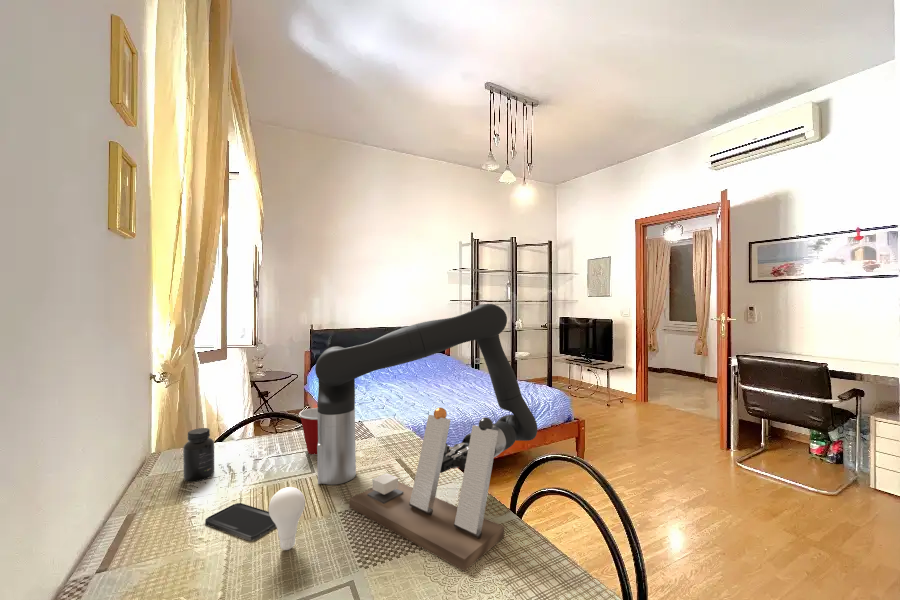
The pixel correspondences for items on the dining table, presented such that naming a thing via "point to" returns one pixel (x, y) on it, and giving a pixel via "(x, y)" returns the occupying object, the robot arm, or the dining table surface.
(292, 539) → the lightbulb
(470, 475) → the grey upright post
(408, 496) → the walnut panel
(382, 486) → the white button
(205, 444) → the supplement bottle
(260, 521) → the phone
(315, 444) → the plastic cup
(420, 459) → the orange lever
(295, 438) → the dining table surface
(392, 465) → the dining table surface
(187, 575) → the dining table surface
